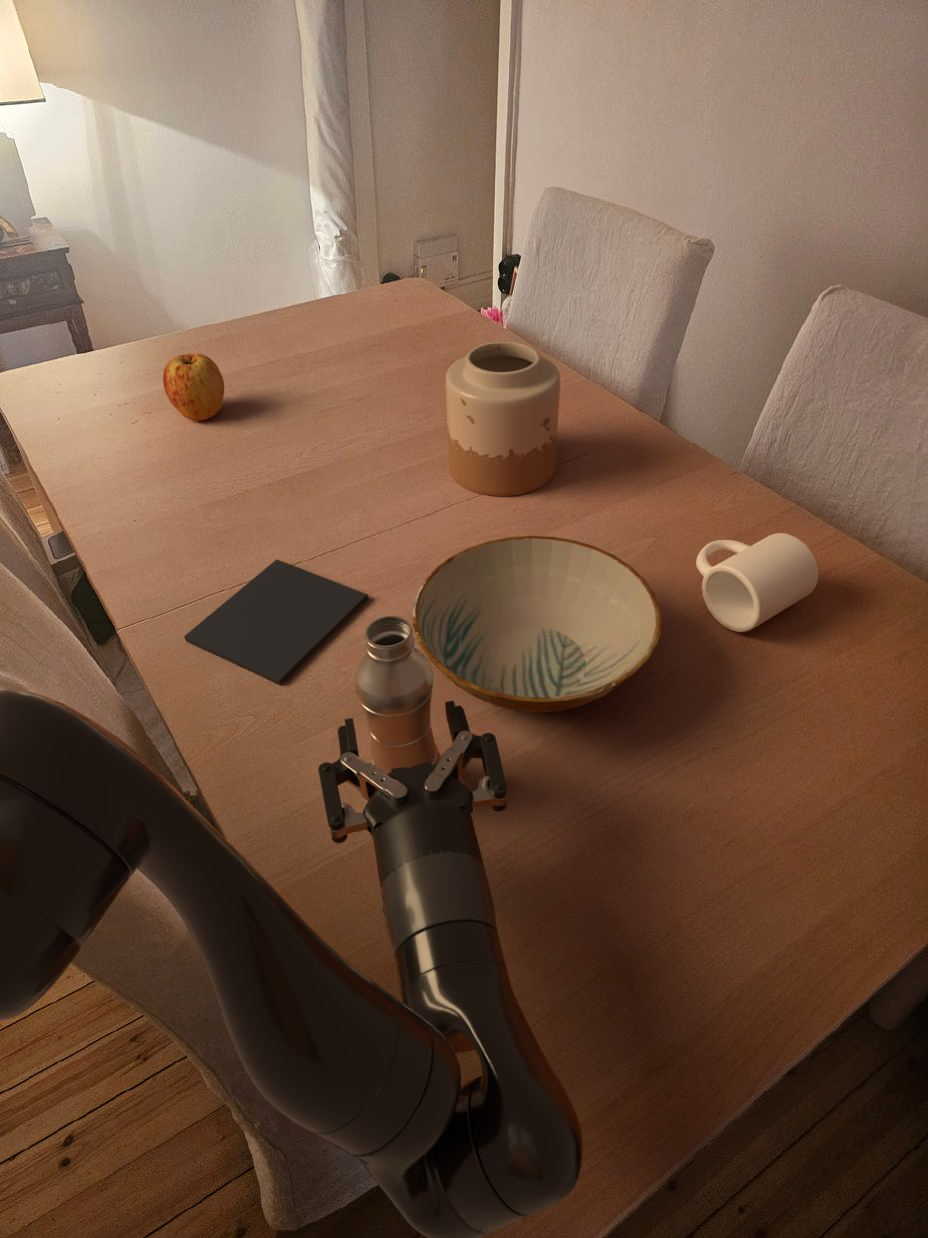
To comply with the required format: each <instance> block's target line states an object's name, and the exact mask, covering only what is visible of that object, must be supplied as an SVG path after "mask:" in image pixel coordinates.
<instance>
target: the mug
mask: <svg viewBox="0 0 928 1238" xmlns="http://www.w3.org/2000/svg"><path fill="white" fill-rule="evenodd" d="M718 551H728V552H732V553H735V554H733V555H732V556H730V557H728V558H726V559H725V560H723V561H721V562H719V563H717V564H716V565H712V564H711V563H710V561H709V560H708V557H709V556H710V555H712V554H713V553H716V552H718ZM695 560H696V561H695V562H696V563H695V564H696V568H697V570H698V572H699V574H701V576H702V577H703V579H702V581H701V582H702V583H701V592H702V597H703V601H704V603H705V605H706V609H708V611H709V613H710V614H711V615H712V617H713V618H714V619H715V620H716V621H717V622H718V623H719V624H720V625H721V626H723V627H724V628H726V629H728V630H731V631H732V632H736V633H746V632H749V631H751V630H753V629H755V628H757V627H758V626H760V625H761V624H764V622H767V621H768V620H770V619H771V618H774V617H775V616H777V615H778V614H779V613H782V612H783V611H784V610H786V609H787V608H789V607H791V606H792V605H794V604H796V603H798V602H799V601H801V600H802V599H804V598H805V597H807V596H809V595H810V594H811V593H812V592H813V591H814V590H815V588H816V587H817V584H818V580H819V567H818V563H817V561H816V557H815V555H814V554H813V552H812V551H811V549H810V548H809V546H807V545H806V543H804V542H803V541H802V540H801V539H799V538H798V537H795V535H791V534H789V533H785V532H778V533H772V534H770V535H768V536H766V537H764V538H763V539H761V540H759V541H756V542H755V543H754V544H751V545H749V544H747V543H745V542H741V541H737V540H733V539H718V540H717V539H716V540H713V541H710V542H709V543H707V544H706V545H704V546H703V547H702V549H701V550H700V551H699V553H697V557H696V559H695Z"/></svg>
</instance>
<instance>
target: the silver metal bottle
mask: <svg viewBox="0 0 928 1238" xmlns="http://www.w3.org/2000/svg"><path fill="white" fill-rule="evenodd" d="M364 638H365V639H364V640H365V644H364V650H365V655H364V656H363V657H362V659H361V660H360V662H359V663H358V665H357V666H356V670H355V675H354V678H353V687H354V690H355V694H356V697H357V699H358V702H359V704H360V707H361V710H362V712H363V714H364V716H365V719H366V723H367V726H368V731H369V734H370V750H371V753H370V754H371V755H370V762H369V763H372V764H373V765H375V766H376V767H377V768H379V769H380V770H382V771H383V772H384V773H386V774H388V773H390V772H391V769H394V768H400V767H408V768H411V767H414V766H416V765H418V764H421V763H426V762H430V764H431V765H436V766H437V764H438V762H439V761H440V759H441V757H442V756H441V755H440V752H439V749H438V746H437V744H436V741H435V736H434V733H433V729H432V720H431V719H432V718H431V717H432V716H431V715H432V714H431V711H432V709H431V705H432V696H433V688H434V687H433V686H434V672H433V668H432V666H431V664H430V662H429V660H428V659H427V657H426V655H424V653H422V652H421V651H420V650H418V648H416V647H415V638H414V636H413V628H412V625H411V623H410V622H409V621H408V620H407V619H406V618H404V617H401V616H397V615H385V616H382V617H378V618H376V619H374V620H373V621H371V622H370V623H369V624H368V625H367V627H366V629H365V632H364Z"/></svg>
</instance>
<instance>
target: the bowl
mask: <svg viewBox="0 0 928 1238" xmlns="http://www.w3.org/2000/svg"><path fill="white" fill-rule="evenodd" d="M660 607H661V606H659V602H658V599H657V596H656V594H655V592H654V591H653V590H652V588H651V586H650V585H649V583H648V581H646V579H645V578H644V577H643V576H642V575H641V574H640V573H639V572H638V571H636V569H634V568H633V567H632V566H631V565H630V564H628V563H627V562H625V561H624V560H622V559H621V558H619V557H617V556H616V555H615V554H613V553H610V552H608V551H606V550H604V549H601V548H599V547H597V546H594V545H591V544H587V543H584V542H581V541H578V540H575V539H569V538H563V537H557V536H547V535H524V536H523V535H522V536H521V535H520V536H508V537H503V538H498V539H493V540H492V539H491V540H488V541H485V542H481V543H478V544H476V545H475V544H474V545H473V546H469V547H468V548H467V547H466V548H465V549H463V550H461V551H459V552H457V553H455V554H453V555H451V556H450V557H449V558H447V559H446V560H444V561H443V562H442V563H440V564H439V565H438V566H436V567H435V568H434V569H433V570H432V572H431V573H430V574H429V575H428V576H427V577H426V578H425V579H424V581H423V582H422V584H421V586H420V587H419V590H418V591H417V593H416V595H415V600H414V602H413V607H412V627H413V630H414V633H415V637H416V638H417V639H416V640H417V642H418V644H419V645H420V647H421V649H422V650H423V651H424V653H425V654H426V656H427V657H428V659H429V660H430V661H431V663H433V665H434V666H435V667H436V668H437V669H438V670H439V671H440V672H442V673H443V675H445V676H446V677H447V678H448V679H449V680H450V681H451V682H452V683H453V684H454V685H455V686H457V687H458V688H460V689H462V690H463V691H465V692H467V694H470V695H472V696H473V697H475V698H476V699H479V700H481V701H483V702H485V703H488V704H491V705H493V706H496V707H499V708H503V709H507V710H512V711H517V712H525V713H526V712H528V713H545V712H546V713H549V712H561V711H564V710H568V709H573V708H578V707H582V706H583V705H585V704H588V703H591V702H593V701H595V700H598V699H600V698H602V697H605V696H607V695H608V694H609V693H611V692H612V691H614V690H615V689H617V688H618V687H620V686H621V685H623V684H624V683H625V682H627V681H628V680H629V679H630V678H631V677H632V676H633V675H634V674H635V673H636V672H637V671H638V670H639V669H641V667H642V666H643V665H644V664H645V663H646V662H647V661H648V660H649V658H650V657H651V655H652V654H653V651H654V650H655V648H656V646H657V644H658V643H659V638H660V634H661V630H662V615H661V614H662V613H661V608H660Z"/></svg>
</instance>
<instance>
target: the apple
mask: <svg viewBox="0 0 928 1238" xmlns="http://www.w3.org/2000/svg"><path fill="white" fill-rule="evenodd" d="M162 383H163V387H164V388H163V389H164V392H165V395H166V396H167V399H168V401H169V402H170V403H171V404H172V406H173V407H174V408H175V409H176V410H177V411H178V413H180V414H181V415H182V416H183V417H184V418H186V419H189V420H191V421H195V422H201V421H202V422H203V421H205V420H208V419H210V418H213V417H214V416H216V415H217V414H218V412H219V411H220V410H221V408H222V405H223V401H224V398H225V397H224V396H225V382H224V377H223V375H222V372H221V370H220V369H219V367H218V365H217V363H216V362H215V361H214V360H212V358H211V357H209V356H207V355H204V354H202V353H187V354H181V355H177V356H175V357H173V358H171V359H170V360H169V361H168V362H167V363H166V365H165V367H164V370H163V375H162Z"/></svg>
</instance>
